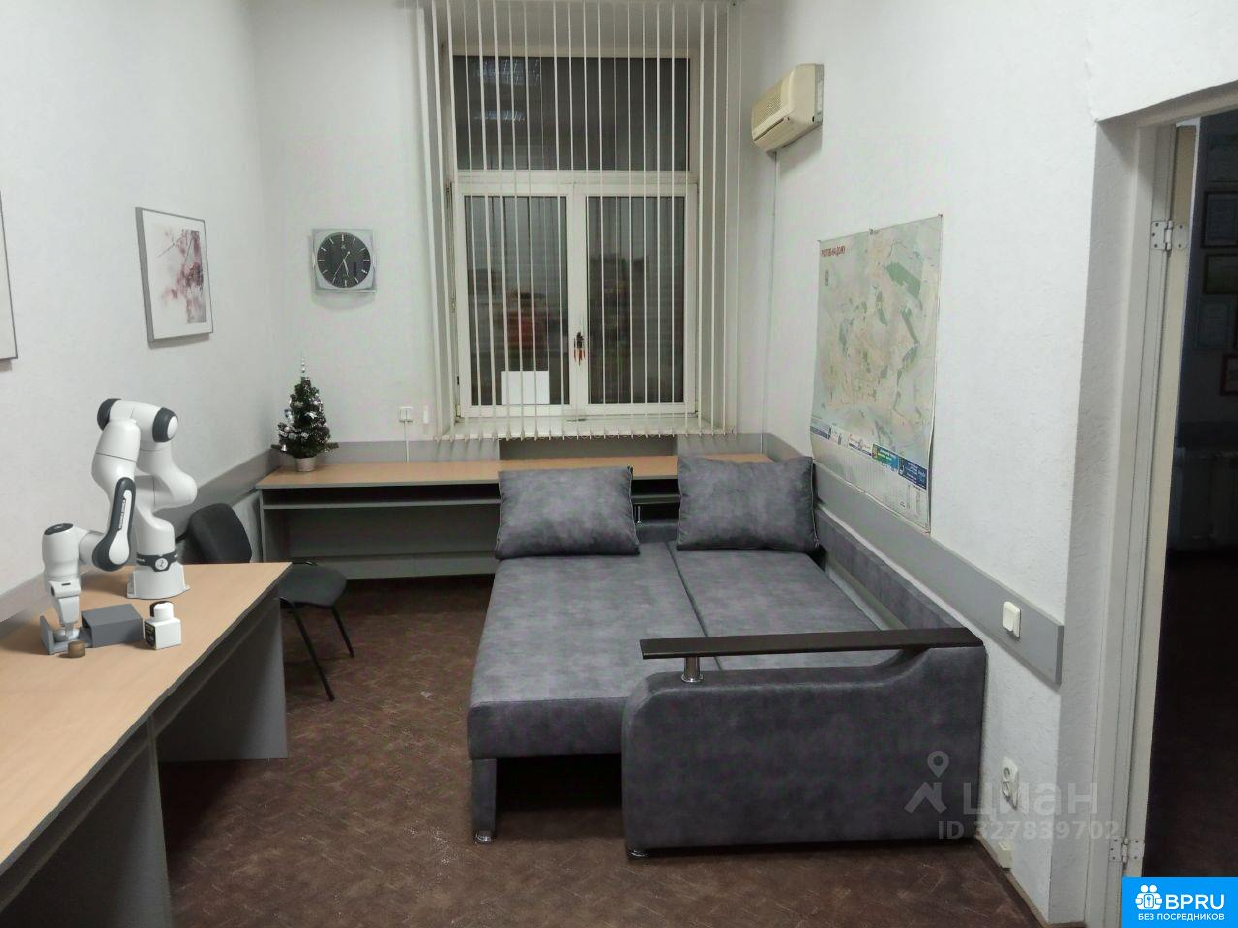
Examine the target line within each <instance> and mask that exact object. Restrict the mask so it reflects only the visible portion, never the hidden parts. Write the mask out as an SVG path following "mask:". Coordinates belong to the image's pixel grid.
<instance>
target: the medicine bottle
mask: <svg viewBox="0 0 1238 928" xmlns="http://www.w3.org/2000/svg"><path fill="white" fill-rule="evenodd" d="M148 608H149V618H146V619H143V627H144V640H145V641H144V642H145V645H147V646H149V647H151V648H152V649H154V650H155V651H157V650H163V649H167V648H171V647H175V646H180V645H182V631H181V620H180V619H179V618H177V617H175V611H174V603H173V602H172V601H168V600H160V601H155V602H152V603H150V605H149V607H148Z"/></svg>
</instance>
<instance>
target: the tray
mask: <svg viewBox="0 0 1238 928" xmlns="http://www.w3.org/2000/svg"><path fill="white" fill-rule="evenodd" d="M39 623H40V637H41V640H42V642H43V644H44V646H45V648H46V650H47V651H48V652H47V653H49V655H50V656H51V655H55V653H56V654H57V653H59V652H68V643H70V642H72V641H84V642H85V648H89V647H90V648H91V647H92V633H91V627H90V628H84V626H82V625H81V626H80V628H78V629H79V631H80V638H79V639H77V640H71V641H65V642H59V643H57V642H54V638H53V633H54V632H53V629H52V628H51V625H50V623H49V622H48V620H47V618H46V616H45V615H43V614H42V615H39Z"/></svg>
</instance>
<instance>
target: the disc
mask: <svg viewBox="0 0 1238 928" xmlns="http://www.w3.org/2000/svg"><path fill="white" fill-rule="evenodd" d="M79 629H80V628H76V627H75V628H74V627H73V636H71V637H66V635H65V628H62V629H58V630H55V631H54V632H53V638H54V642H57V643H59V642H65V641H71V640H77V639H79V638H80V631H79Z"/></svg>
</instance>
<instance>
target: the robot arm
mask: <svg viewBox="0 0 1238 928" xmlns="http://www.w3.org/2000/svg"><path fill="white" fill-rule="evenodd" d="M96 422H97V425H98V428H99V429H100V430H101V431H102V433H101V435H100V437H99V439H98V441H97V444H96V448H95V451H94V454H93V457H92V461H91V468H90V469H91V470H90V472H91V473H90V474H91V477H92V480H93V481H94V482H95V484H97V486H99V487H100V488H101V489H102V490H103V491H104V492H105V493H106V495H107V498H108V500H109V501H108V502H109V511H108V516H107V517H108V518H107V525H106V530H105V532H102V531H97V530H92V529H85V528H83V527H78V526H77V525H74V524H73V523H69V522H63V523H62V522H61V523H56V524H54V525H51V526H49V527H47V528H46V529H45V530H44V531H43V535H42V541H41V556H42V561H43V564H44V571H43V583H44V591H45V592H46V593H48V594H50V597H51V603H52V607H53V609H54V611H55V612H56V614H57V617H58V622H59V624H58V625H59V626H60V628H64V629H65V635H66V637H71V636H73V628H74V625H76V624H78V622H79V620H80V619H79V618H80V596H81V595H82V575H81V573H82V572H81V567H82V566H85V565H87V566H90V567H93V568H97V569H99V570H102V571H103V572H107V573H108V572H109V573H113V572H117V571H119V570H122V568H123V567H125V566H126V565H127V563H128V562H129V560H130V558H131V555H132V542H131V541H132V539H131V533H132V525H133V529H134V531H135V537H136V546H137V551H136V554H135V559H136V560H135V563H136V565H135V566H134V568H133V572H132V573H131V572H130V573H127V579H128V583H126V598H128V599H141V600H158V599H167V598H172V597H175V596H179V595H180V594H182V593H184V592H186V591H189V590H190V589H191V587H190V585H189V584H187V583H185V578H184V577H185V575H184V567H183V565H182V563H180V562H178V556H179V555H178V550H177V548H176V538H175V537H176V536H175V527H174V525H173V524H172V523H171V522H170V521H168V520H166V519H163V518H160V517H158V516H155V514H153V510H158V509H172V508H175V509H176V508H181V507H184V506H185V507H186V506H188V505H192V504H193V502H194V501H195V500H196V498H197V495H198V484H197V483H196V481H195V479H194V478H193V477H192V476H191V475H189V474H187V473H185V472H184V471H183V470H180V468H179V467H178V466H177V465H176V463H175V461H174V458H173V451H172V439H173V438H174V437H175V435H176V434H177V432H178V431H177V430H178V427H179V425H178V424H179V419H178V416H177V414H176V412H174V410H171V409H169V408H167V407H165V406H163V407H161V406H157V405H155V404H152V403H149V402H148V403H147V402H144V401H135V400H126V399H121V398H114V397H113V398H112V397H111V398H106V400H104V401H102V403H101V404H100V405H99V407H98V410H97V414H96ZM136 468H137V469H138V470H140V471H141V472H143V473H145V475H143V474H142V475H139V474H138V475H135V472H136ZM129 581H130V582H129Z"/></svg>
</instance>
